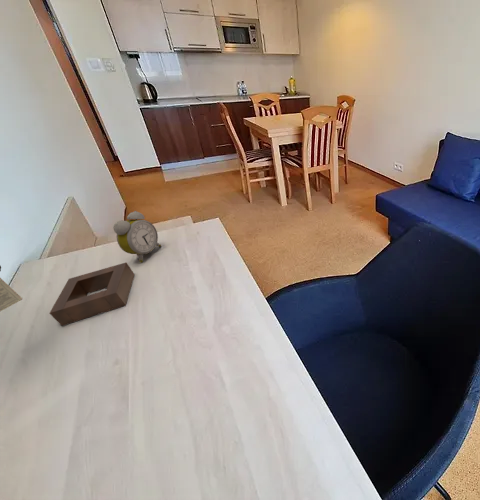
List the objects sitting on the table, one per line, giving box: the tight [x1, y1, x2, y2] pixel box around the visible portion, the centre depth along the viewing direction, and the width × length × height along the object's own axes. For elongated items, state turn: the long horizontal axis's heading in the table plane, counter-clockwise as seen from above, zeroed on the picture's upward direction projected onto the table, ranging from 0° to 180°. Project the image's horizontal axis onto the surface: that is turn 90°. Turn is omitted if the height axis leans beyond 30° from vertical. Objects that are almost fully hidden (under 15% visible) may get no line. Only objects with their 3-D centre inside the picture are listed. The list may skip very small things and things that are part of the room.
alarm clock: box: [112, 210, 162, 263], centre depth 102 cm, size 12×7×15 cm, turn 171°
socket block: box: [49, 262, 135, 327], centre depth 88 cm, size 16×16×5 cm
